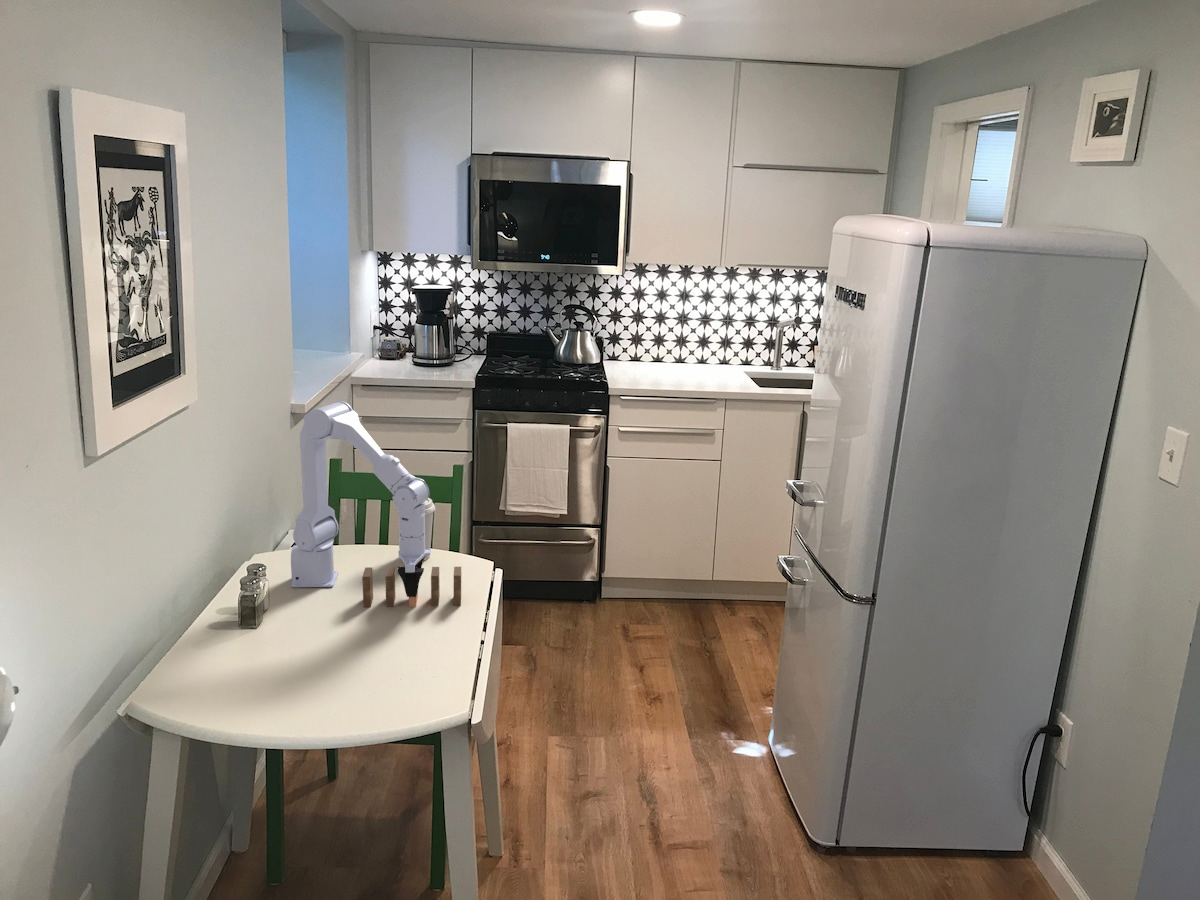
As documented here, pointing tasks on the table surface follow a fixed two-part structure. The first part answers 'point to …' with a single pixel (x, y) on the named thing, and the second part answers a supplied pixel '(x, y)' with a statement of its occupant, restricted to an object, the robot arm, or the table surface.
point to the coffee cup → (428, 523)
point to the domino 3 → (413, 600)
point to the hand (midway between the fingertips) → (413, 588)
